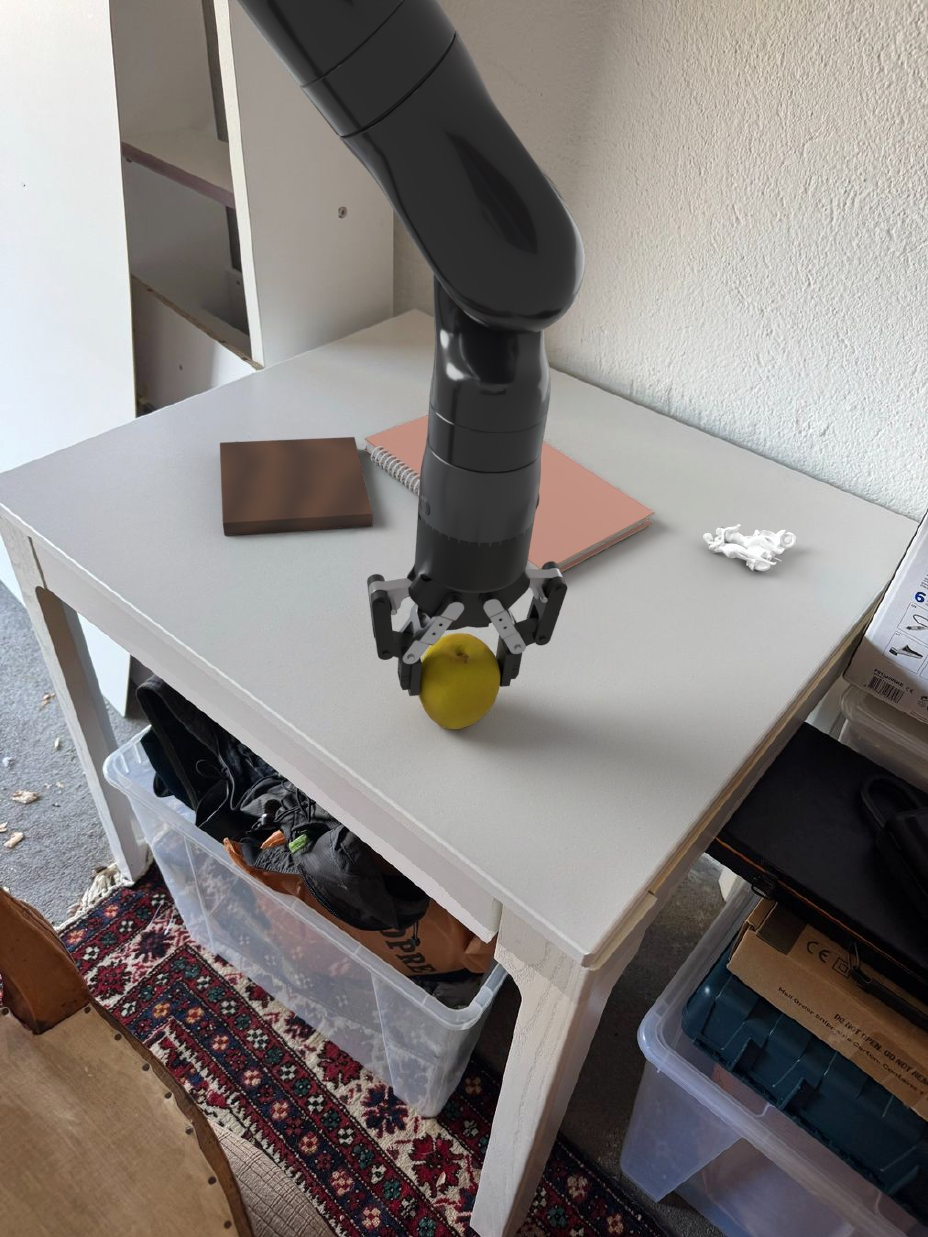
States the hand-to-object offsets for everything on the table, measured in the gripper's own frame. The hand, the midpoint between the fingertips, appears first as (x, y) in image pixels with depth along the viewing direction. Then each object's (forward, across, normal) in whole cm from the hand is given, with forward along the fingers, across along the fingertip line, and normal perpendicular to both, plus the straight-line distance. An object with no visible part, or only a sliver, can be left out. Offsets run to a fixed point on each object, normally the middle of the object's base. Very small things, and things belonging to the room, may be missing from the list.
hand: (457, 682), depth 70 cm
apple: (+4, 0, 0) cm, 4 cm away
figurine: (+4, -33, -17) cm, 37 cm away
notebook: (+4, -11, -30) cm, 32 cm away
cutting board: (+4, +10, -32) cm, 34 cm away
